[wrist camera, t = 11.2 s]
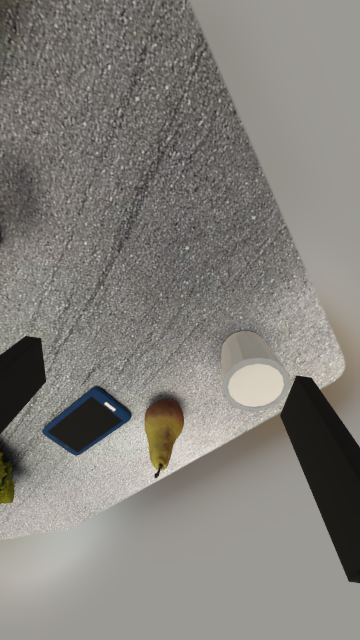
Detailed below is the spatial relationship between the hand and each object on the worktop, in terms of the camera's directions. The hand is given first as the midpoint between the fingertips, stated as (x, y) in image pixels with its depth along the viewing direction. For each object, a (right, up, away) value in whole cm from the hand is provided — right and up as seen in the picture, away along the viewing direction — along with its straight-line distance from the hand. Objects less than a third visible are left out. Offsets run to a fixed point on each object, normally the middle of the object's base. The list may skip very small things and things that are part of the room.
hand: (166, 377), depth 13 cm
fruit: (-1, -10, +23) cm, 25 cm away
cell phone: (-14, -13, +25) cm, 31 cm away
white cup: (+9, -1, +18) cm, 20 cm away
